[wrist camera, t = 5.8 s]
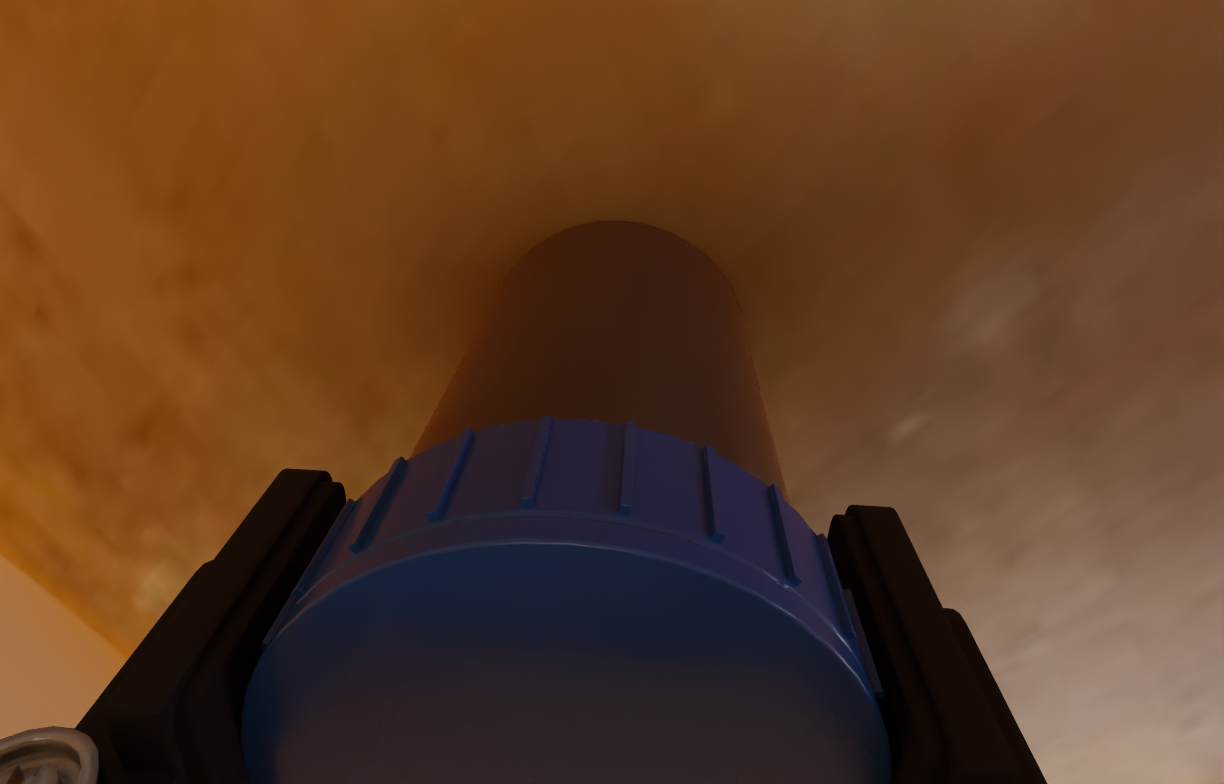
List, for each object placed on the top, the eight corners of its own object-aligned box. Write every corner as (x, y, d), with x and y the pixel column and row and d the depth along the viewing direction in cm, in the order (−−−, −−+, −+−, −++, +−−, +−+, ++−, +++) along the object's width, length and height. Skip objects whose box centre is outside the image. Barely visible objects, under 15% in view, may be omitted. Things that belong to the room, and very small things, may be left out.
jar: (797, 353, 17) (953, 761, 8) (613, 495, 19) (572, 946, 10) (618, 161, 16) (562, 408, 6) (436, 340, 18) (198, 718, 8)
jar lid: (595, 287, 7) (575, 386, 6) (959, 672, 9) (1031, 835, 8) (207, 615, 10) (104, 759, 8) (569, 866, 12) (553, 1027, 10)
